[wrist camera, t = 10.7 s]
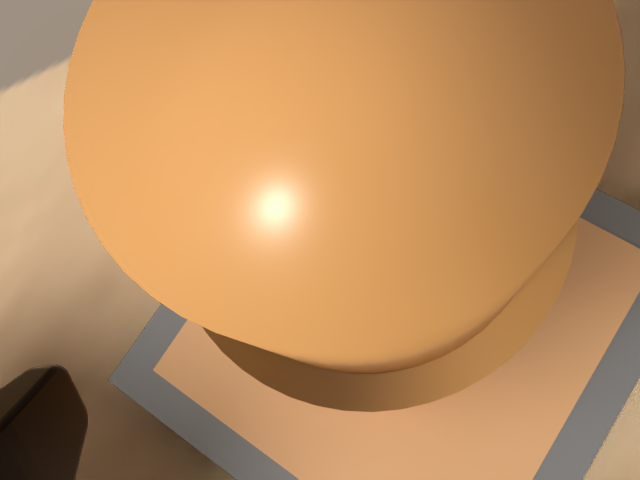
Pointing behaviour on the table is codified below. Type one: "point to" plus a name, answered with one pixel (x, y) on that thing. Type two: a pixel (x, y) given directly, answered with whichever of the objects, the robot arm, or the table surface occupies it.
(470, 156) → the peach capped bottle
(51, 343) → the table surface
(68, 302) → the table surface
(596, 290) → the pad
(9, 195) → the table surface
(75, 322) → the table surface
